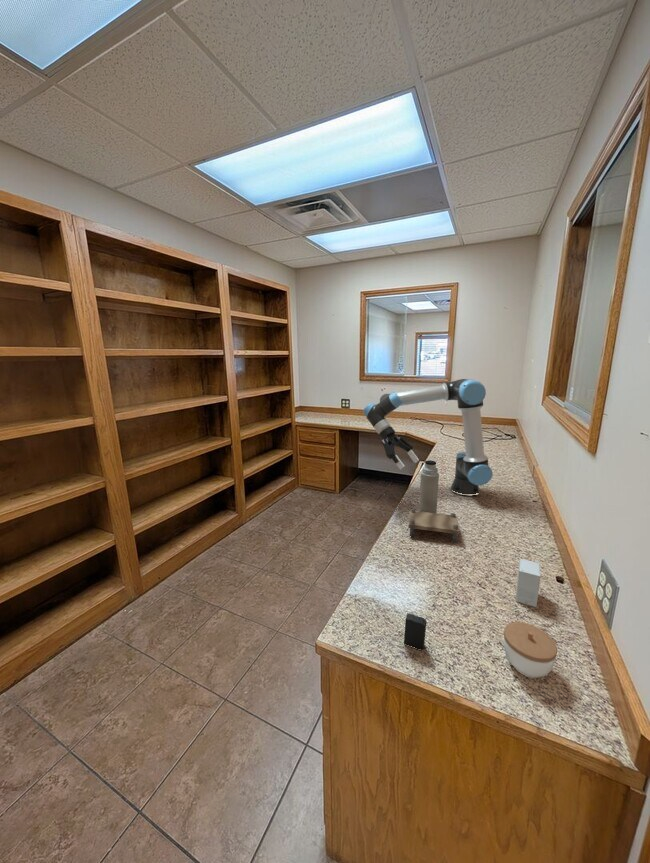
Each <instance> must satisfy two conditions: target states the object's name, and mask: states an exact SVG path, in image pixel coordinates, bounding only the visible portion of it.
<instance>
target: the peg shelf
mask: <svg viewBox="0 0 650 863" xmlns="http://www.w3.org/2000/svg"><path fill="white" fill-rule="evenodd" d="M408 528H409V537H410V536H411V537H410V538H414V537H415V530H416V529H417V530H421V531H422V530H423V531H431V532H441V533H446V534H447V533H448V534H452V538H451V539H452V540H451V542H452V543H453V544H457V543H458V535H460V533H461V530H460V525H459V520H458V515H457V514H456V513H453V512H452V513H451V514H445V513H428V512H419V510H416V509H415V508H411V510H409V517H408ZM413 536H414V537H413Z"/></svg>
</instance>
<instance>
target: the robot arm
mask: <svg viewBox="0 0 650 863" xmlns="http://www.w3.org/2000/svg"><path fill="white" fill-rule="evenodd" d="M486 393H487V391H486V388H485V385H483V383H481V381H479V380H476V379H468V378H461V379H457V380H453V381H448V382H443V383H442V384H441V385H436V386H430V387H424V388H417V389H411V390H405V391H404V390H403V391H398V392H395V391H394V392H391V393H385V394H382V395H381V396H380V398H379V403H377V404H375V403H374V402H370V403H369V404H367V405H365V406H364V408H363V410H362V412H363V414H364V416H365V418H366V419H367V420H368V422H369V423H370V424H371V426H372V427H373V429H375V432H376V433H377V434H378V436H379V437H380V438H381V444H382V446H383V449H384V451H385V455H386V457H387V458H388V459H389V460H391V459H392V461H393V462H394V463H395V465H396V466H397V468H399V470H402V469H403V468H405V464H404V463H403V461H401V459H400V458H399V456H398V455H397V454H396V452H395V451H396V450H395V446H397V447H399V448H401V449H402V450H404V451H406V453H407V455H408V456H409V457H410V459H411V460H412V462H413V463H414V464H417V463H418V462H419V461H420V459H419V458H418V456H417V455H416V454H415V452H414V451H413V449H414V446H413V445H411V444H410V443H409V442H408V441H407V440H406V439H404V438H403V437H402V435H401V434H398V435H396V430H395V429H394V427H392V426H391V424H390V423H389V421H388V420H387V419H386V416H388V415H389V414H390V413H392V412H394V411H395V410H396V409H398V408H399V407H402V406H408V405H415V404H416V405H417V404H421V403H429V402H434V401H442V400H444V401H446V402H447V401H457V409H459V410H460V411H461V415H462V416H461V418H462V419H461V420H462V427H463V437H464V449H465V451H462V452H461V451H459V452H458V453H456V457H455V472H454V479H453V480H452V483H451V484H450V490H451V489H452V490H453V491H455V492H458V493H462V494H476V493H479V494H480V492H479V491H480V487H479V486H484V485H487V484H488V483H489V482H490V481H491V480H492V478H493V475H494V474H493V470H492V468H491V467H490V466H489V457H488V455H485V448H484V438H483V428H482V427H483V426H482V425H483V424H482V414H481V409H482V407H483V406H484V399H485V398H486Z"/></svg>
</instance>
